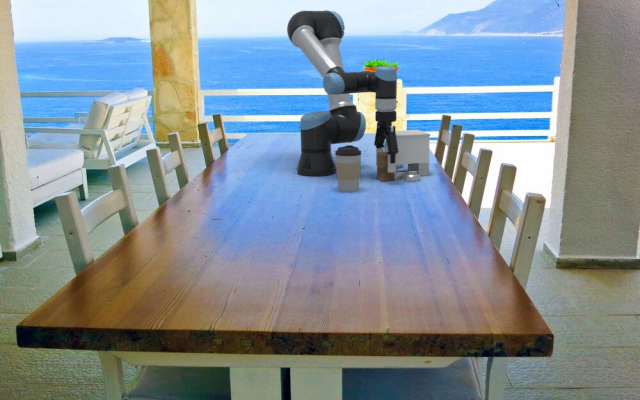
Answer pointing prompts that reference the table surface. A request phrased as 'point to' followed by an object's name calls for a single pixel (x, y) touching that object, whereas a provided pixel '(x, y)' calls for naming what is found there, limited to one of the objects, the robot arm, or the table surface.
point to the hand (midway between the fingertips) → (385, 168)
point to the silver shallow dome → (411, 177)
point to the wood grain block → (383, 169)
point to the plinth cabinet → (413, 150)
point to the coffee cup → (348, 168)
